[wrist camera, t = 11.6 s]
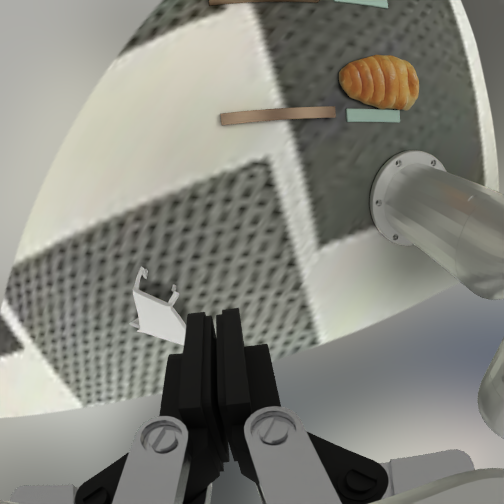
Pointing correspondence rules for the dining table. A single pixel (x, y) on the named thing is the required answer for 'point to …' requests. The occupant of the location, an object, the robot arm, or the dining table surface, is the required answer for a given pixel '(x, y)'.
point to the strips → (370, 114)
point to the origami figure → (157, 314)
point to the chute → (273, 113)
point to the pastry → (381, 82)
